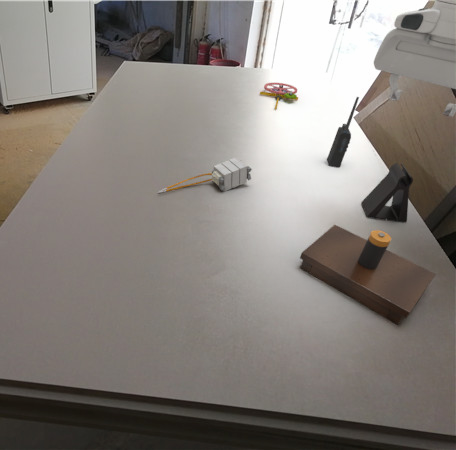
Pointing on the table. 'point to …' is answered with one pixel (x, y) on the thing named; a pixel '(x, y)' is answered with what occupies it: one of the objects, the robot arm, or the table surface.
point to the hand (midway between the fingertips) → (419, 107)
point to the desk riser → (366, 274)
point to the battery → (374, 249)
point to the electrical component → (224, 175)
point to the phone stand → (390, 196)
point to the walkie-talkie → (341, 142)
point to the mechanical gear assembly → (280, 91)
